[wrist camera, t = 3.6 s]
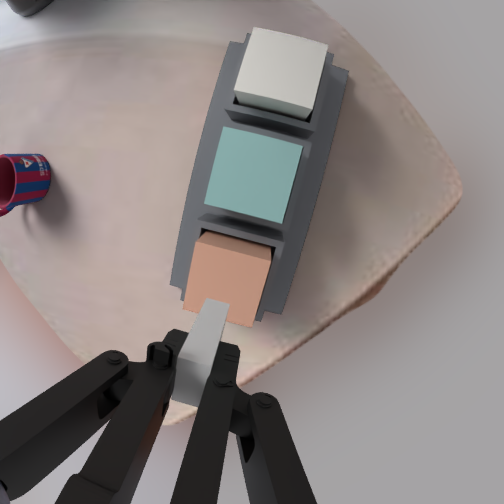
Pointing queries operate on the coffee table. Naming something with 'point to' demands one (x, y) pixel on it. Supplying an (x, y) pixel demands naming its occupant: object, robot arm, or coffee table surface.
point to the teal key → (253, 174)
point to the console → (303, 189)
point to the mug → (22, 180)
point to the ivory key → (280, 73)
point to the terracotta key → (228, 275)
